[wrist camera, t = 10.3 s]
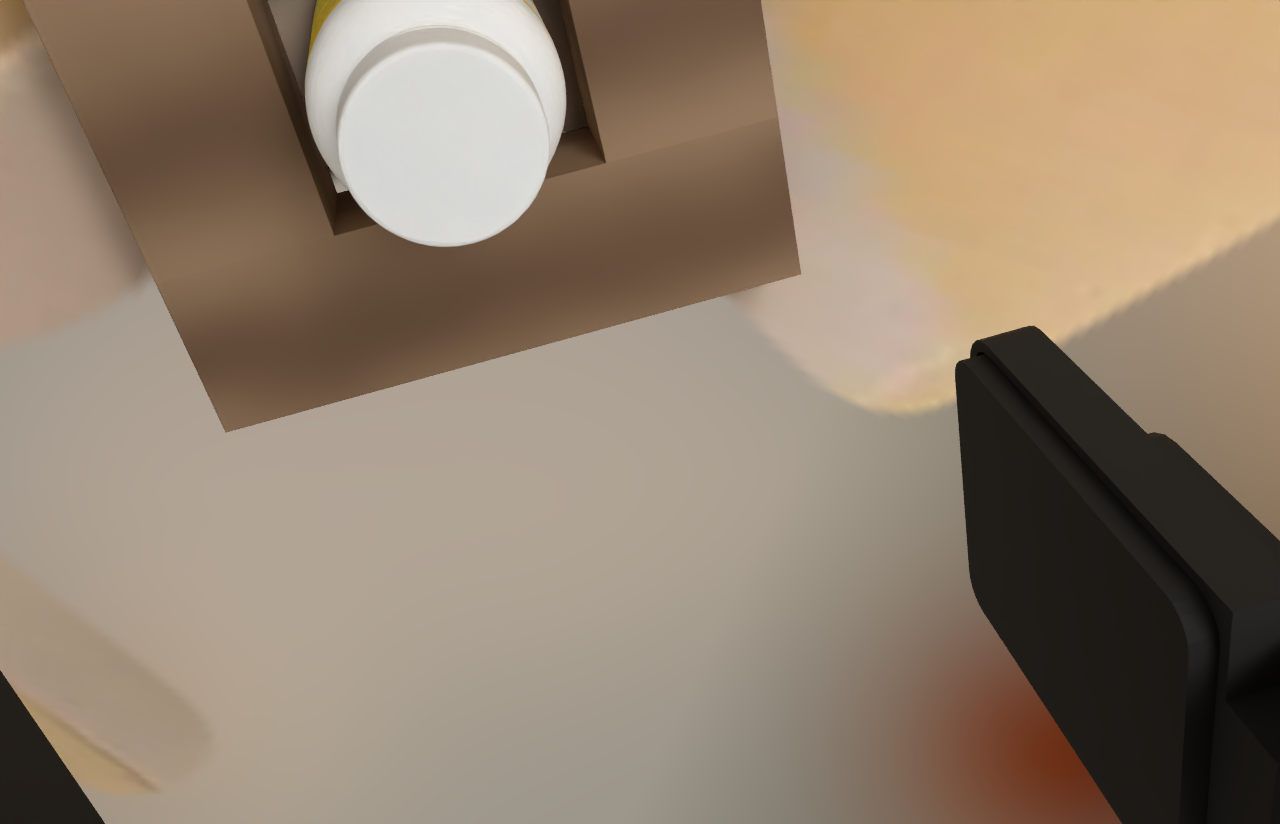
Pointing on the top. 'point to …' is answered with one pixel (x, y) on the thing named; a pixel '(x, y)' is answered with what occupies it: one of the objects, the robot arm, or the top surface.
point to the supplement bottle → (436, 111)
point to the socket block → (388, 264)
